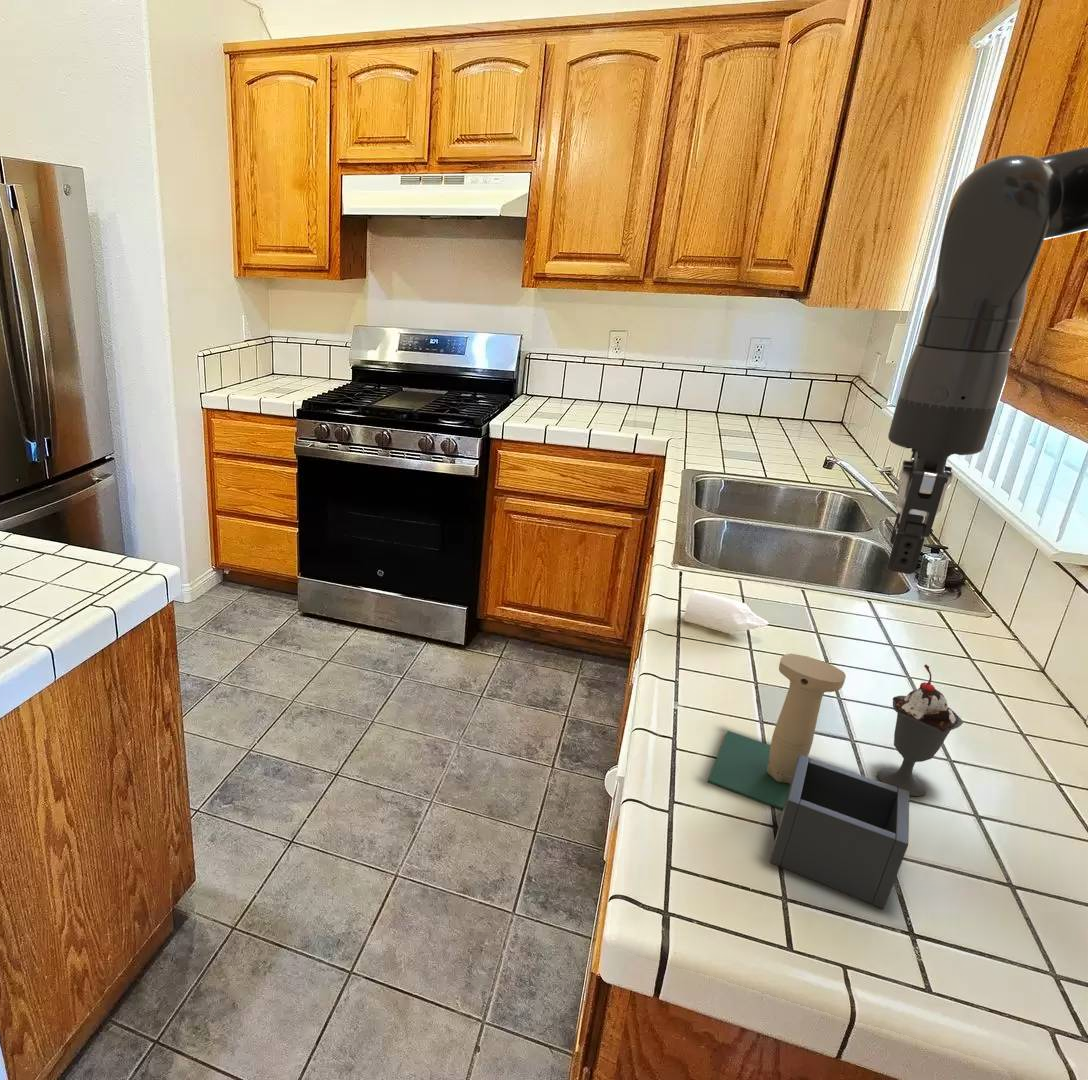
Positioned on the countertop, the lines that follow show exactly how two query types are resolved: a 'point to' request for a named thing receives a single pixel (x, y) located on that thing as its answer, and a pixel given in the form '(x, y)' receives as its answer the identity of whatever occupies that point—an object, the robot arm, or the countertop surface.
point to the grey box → (843, 830)
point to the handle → (800, 711)
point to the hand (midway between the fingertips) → (900, 557)
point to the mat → (747, 770)
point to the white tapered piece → (720, 613)
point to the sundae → (918, 734)
